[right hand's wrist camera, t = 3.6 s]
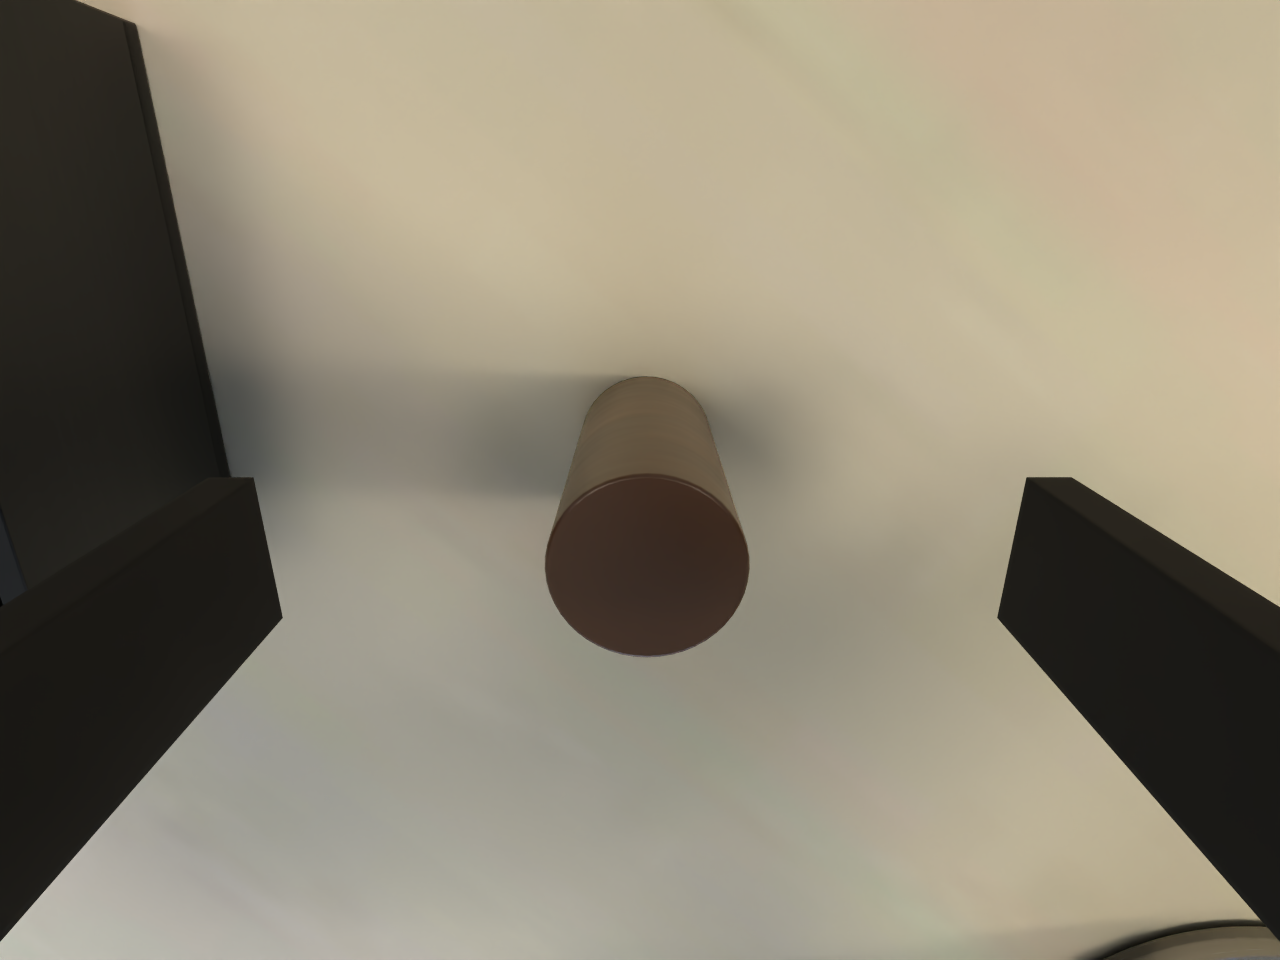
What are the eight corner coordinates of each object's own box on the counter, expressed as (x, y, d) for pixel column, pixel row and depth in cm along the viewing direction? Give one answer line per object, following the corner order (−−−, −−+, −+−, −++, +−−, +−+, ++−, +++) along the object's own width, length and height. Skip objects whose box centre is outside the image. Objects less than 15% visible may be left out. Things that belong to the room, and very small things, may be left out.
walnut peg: (712, 376, 19) (756, 474, 12) (708, 499, 21) (744, 659, 13) (580, 375, 19) (539, 473, 12) (584, 498, 21) (548, 658, 13)
